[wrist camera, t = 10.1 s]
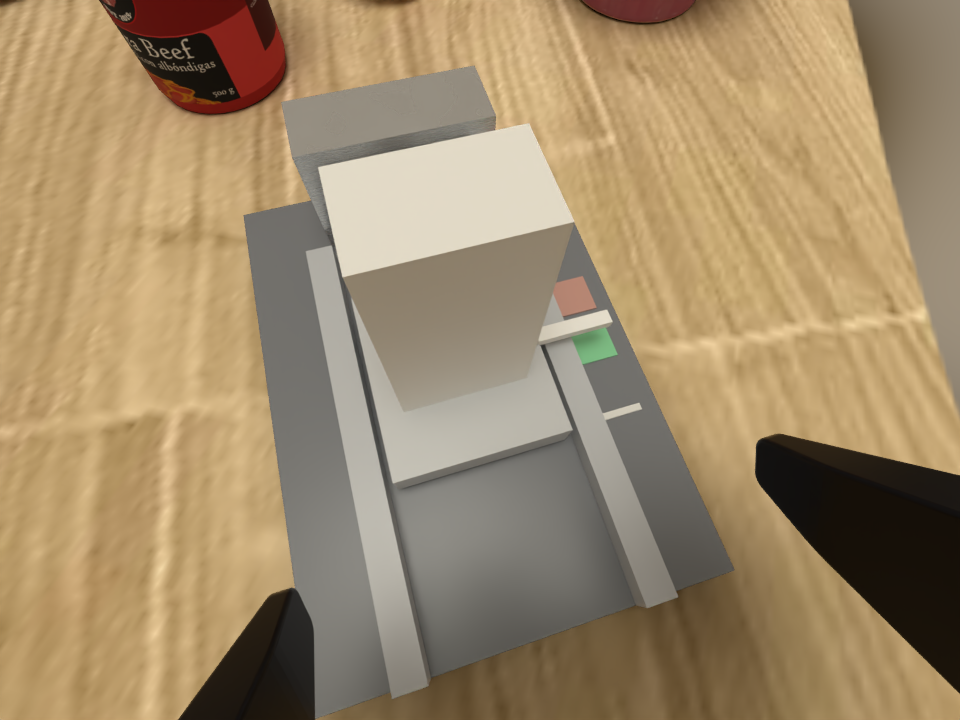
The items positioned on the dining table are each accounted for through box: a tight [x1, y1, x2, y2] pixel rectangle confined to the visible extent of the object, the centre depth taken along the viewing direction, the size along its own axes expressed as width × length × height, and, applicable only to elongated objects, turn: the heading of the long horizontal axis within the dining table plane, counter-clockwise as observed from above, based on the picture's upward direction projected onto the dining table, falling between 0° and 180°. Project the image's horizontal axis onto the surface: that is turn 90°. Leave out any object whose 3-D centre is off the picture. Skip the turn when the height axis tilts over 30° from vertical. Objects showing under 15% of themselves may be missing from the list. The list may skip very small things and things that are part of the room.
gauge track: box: [244, 201, 734, 719], centre depth 21 cm, size 22×16×2 cm
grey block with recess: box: [281, 66, 496, 252], centre depth 22 cm, size 3×8×6 cm, turn 107°
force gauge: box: [318, 123, 613, 489], centre depth 16 cm, size 8×10×11 cm
